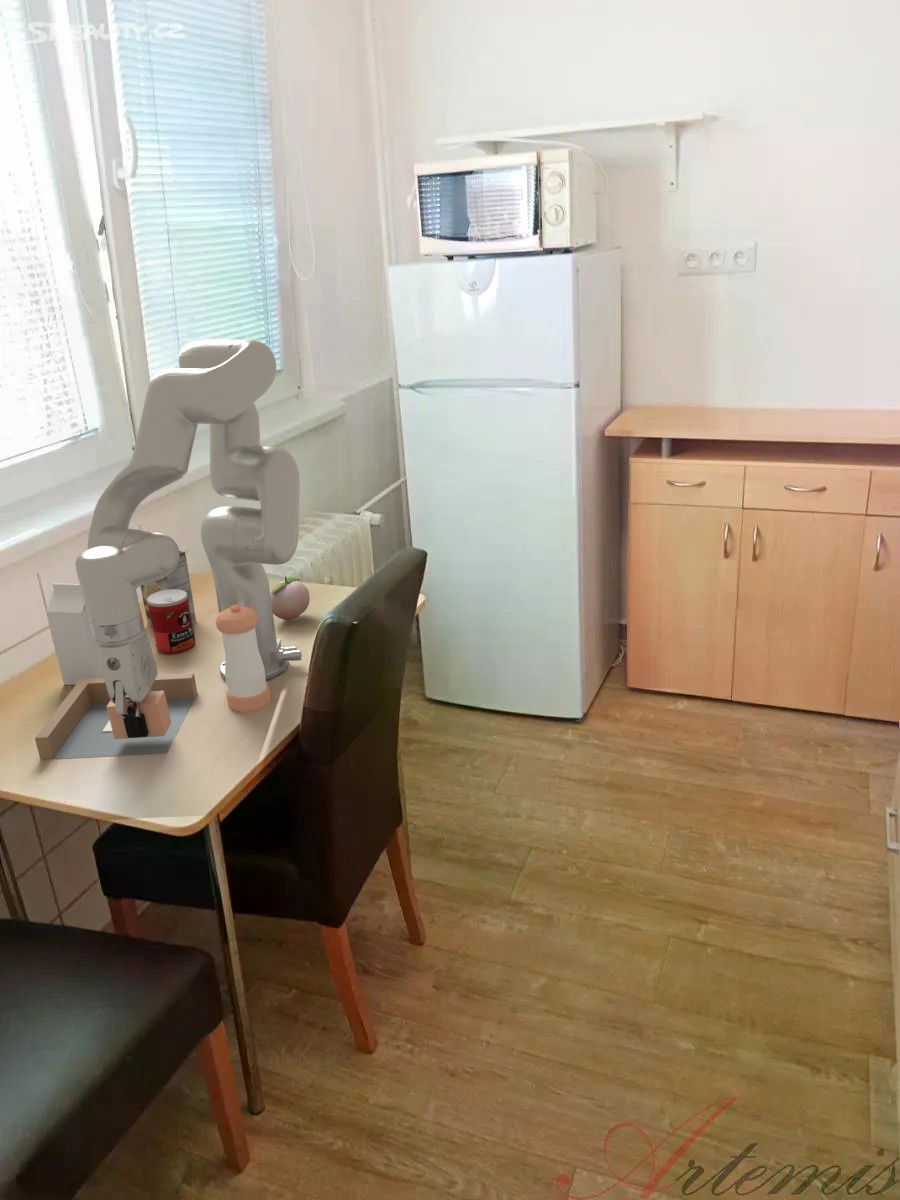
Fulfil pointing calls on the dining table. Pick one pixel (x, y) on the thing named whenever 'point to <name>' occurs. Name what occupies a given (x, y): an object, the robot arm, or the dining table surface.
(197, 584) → the dining table surface
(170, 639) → the canned food
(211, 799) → the dining table surface
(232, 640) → the pepper shaker
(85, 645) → the milk carton
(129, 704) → the terracotta block
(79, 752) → the arena board
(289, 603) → the decorative fruit
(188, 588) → the coffee box
